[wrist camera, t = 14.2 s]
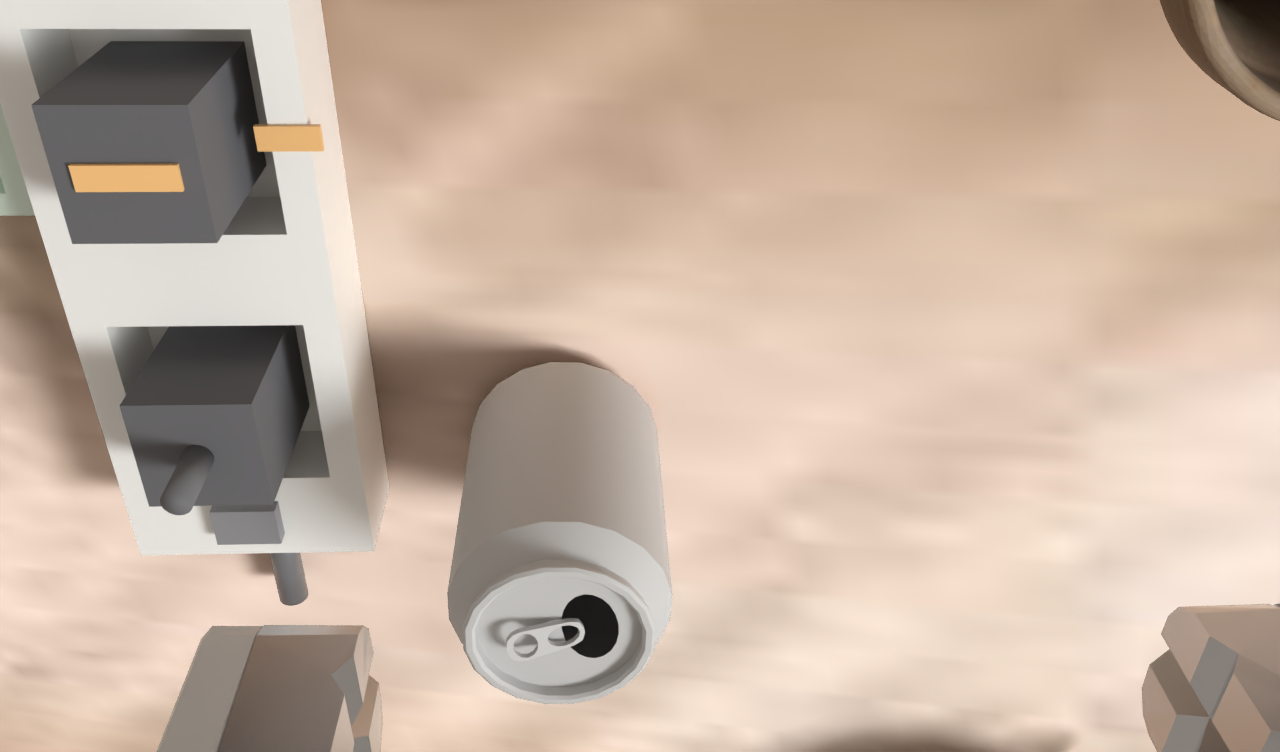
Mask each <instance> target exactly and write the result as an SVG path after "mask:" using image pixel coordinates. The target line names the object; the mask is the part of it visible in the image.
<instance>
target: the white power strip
mask: <svg viewBox="0 0 1280 752" xmlns="http://www.w3.org/2000/svg"><path fill="white" fill-rule="evenodd" d="M110 41H244V43H245V48H246V54H247V59H248V65H249V70H250V76H251V81H252V87H253V93H254V98H255V104H256V109H257V115H258V120H259V124H255V125H254V126H253V129H254V134H255V140H256V145H257V150H258V152H264V153H265V159H266V164H267V165H266V167H265V168H264V170H263V172H262V173H261V175H260V176H259V178H258V180H257V181H256V183H255V184H254V186H253V187H252V189H251V191H250V192H249V194H248V195H247V197H246V199H245V200H244V202H243V203H242V205H241V206H240V208H239V210H238V211H237V213H236V214H235V216H234V218H233V219H232V221H231V222H230V224H229V226H228V227H227V229H226V230H225V232H224V233H223V235H222V237H221V238H220V240H219V241H218V243H163V244H72V241H71V238H70V235H69V231H68V228H67V225H66V221H65V218H64V214H63V211H62V208H61V204H60V201H59V197H58V194H57V191H56V187H55V184H54V180H53V177H52V174H51V170H50V167H49V164H48V160H47V157H46V153H45V150H44V147H43V143H42V140H41V136H40V133H39V130H38V126H37V123H36V120H35V116H34V113H33V109H32V106H31V105H32V104H33V103H34V102H36V101H37V100H38V99H39V98H41V97H42V96H43V95H44V94H46V93H47V92H48V91H49V90H51V89H52V88H53V87H54V86H56V85H57V84H58V83H59V82H60V81H62V80H63V79H64V78H65V77H67V76H68V75H69V74H70V73H72V72H73V71H74V70H75V69H77V68H78V67H79V66H80V65H82V64H83V63H84V62H85V61H87V60H88V59H89V58H90V57H92V56H93V55H94V54H95V53H97V52H98V51H99V50H100V49H102V48H103V47H104V46H105V45H106V44H108V43H109V42H110ZM0 104H1V108H2V111H3V114H4V117H5V120H6V124H7V127H8V130H9V133H10V137H11V140H12V143H13V146H14V149H15V153H16V156H17V159H18V162H19V165H20V169H21V172H22V175H23V178H24V182H25V185H26V188H27V191H28V194H29V198H30V201H31V204H32V207H33V210H34V214H35V217H36V220H37V223H38V226H39V230H40V233H41V236H42V239H43V243H44V246H45V249H46V252H47V255H48V259H49V262H50V265H51V268H52V271H53V275H54V278H55V281H56V284H57V288H58V291H59V294H60V297H61V300H62V304H63V307H64V310H65V313H66V316H67V320H68V323H69V326H70V329H71V332H72V336H73V339H74V342H75V345H76V349H77V352H78V355H79V358H80V361H81V365H82V368H83V371H84V374H85V377H86V381H87V384H88V387H89V390H90V394H91V397H92V400H93V403H94V406H95V410H96V413H97V416H98V419H99V422H100V426H101V429H102V432H103V435H104V438H105V442H106V445H107V448H108V451H109V455H110V458H111V461H112V464H113V467H114V471H115V474H116V477H117V480H118V483H119V487H120V490H121V493H122V496H123V500H124V503H125V506H126V509H127V512H128V516H129V519H130V522H131V525H132V528H133V532H134V535H135V538H136V541H137V545H138V548H139V551H140V554H141V555H191V554H248V553H270V558H271V562H272V566H273V571H274V575H275V580H276V584H277V589H278V593H279V597H280V601H281V602H282V603H283V604H285V605H290V606H291V605H297V604H300V603H302V602H303V601H304V600H305V599H306V598H307V597H308V589H307V584H306V579H305V575H304V570H303V565H302V560H301V555H300V553H305V552H362V551H374V550H375V546H376V541H377V537H378V533H379V529H380V525H381V520H382V516H383V512H384V508H385V504H386V499H387V495H388V491H389V481H388V474H387V467H386V460H385V453H384V445H383V438H382V431H381V424H380V417H379V410H378V403H377V396H376V389H375V382H374V375H373V367H372V360H371V353H370V346H369V339H368V332H367V325H366V318H365V311H364V304H363V297H362V289H361V282H360V275H359V268H358V261H357V254H356V247H355V240H354V233H353V226H352V218H351V211H350V204H349V197H348V190H347V183H346V176H345V169H344V162H343V155H342V148H341V140H340V133H339V126H338V119H337V112H336V105H335V98H334V91H333V84H332V77H331V70H330V62H329V55H328V48H327V41H326V34H325V27H324V20H323V13H322V6H321V0H0ZM260 325H295V328H296V333H297V339H298V344H299V350H300V355H301V361H302V366H303V372H304V377H305V383H306V388H307V394H308V399H309V405H310V406H309V409H308V412H307V415H306V417H305V420H304V423H303V425H302V428H301V431H300V433H299V436H298V439H297V442H296V444H295V447H294V450H293V452H292V455H291V458H290V460H289V463H288V466H287V469H286V471H285V474H284V477H283V479H282V482H281V485H280V488H279V490H278V493H277V496H276V498H275V501H274V504H273V505H223V506H193V508H192V510H191V511H190V512H189V513H187V514H185V515H173V514H171V513H169V512H167V511H165V510H164V509H163V508H162V506H159V507H149V504H148V501H147V498H146V494H145V491H144V487H143V484H142V481H141V477H140V474H139V471H138V467H137V464H136V460H135V457H134V454H133V450H132V447H131V444H130V440H129V437H128V433H127V430H126V427H125V423H124V420H123V417H122V413H121V410H120V404H121V402H122V401H123V399H124V398H125V396H126V394H127V393H128V391H129V390H130V388H131V386H132V385H133V383H134V382H135V380H136V378H137V377H138V375H139V374H140V372H141V370H142V369H143V367H144V366H145V364H146V362H147V361H148V359H149V358H150V356H151V354H152V353H153V351H154V350H155V348H156V346H157V345H158V343H159V342H160V340H161V338H162V337H163V335H164V334H165V332H166V330H167V329H168V327H169V326H260Z"/></svg>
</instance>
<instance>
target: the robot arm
mask: <svg viewBox="0 0 1280 752" xmlns="http://www.w3.org/2000/svg"><path fill="white" fill-rule="evenodd" d="M1161 635H1162V636H1163V638H1164V640H1165V642H1166V643H1167V645H1168V647H1169V650H1168V651H1167V652H1165V653H1164V654H1163V655H1162V656H1160V657H1159V658H1158V659H1156V660H1155V661H1154V662H1153V663H1151V664H1150V665H1149V668H1148V671H1147V674H1146V677H1145V680H1144V683H1143V687H1142V702H1143V716H1144V720H1145V723H1146V727H1147V730H1148V733H1149V736H1150V738H1151V740H1152V742H1153V744H1154V746H1155V748H1156V750H1157V752H1280V604H1275V605H1270V604H1253V605H1222V606H1191V607H1178V608H1177V609H1176V610H1175V611H1173V612H1172V613H1171V614H1170V615H1169V616H1168V618H1167V621H1166V623H1165V626H1164V628H1163V631H1162V633H1161ZM372 657H373V647H372V642H371V638H370V633H369V628H367V627H365V626H328V625H264V626H212V627H211V628H210V630H209V631H208V632H207V633H206V634H205V635H204V636H203V638H202V639H201V641H200V643H199V646H198V648H197V651H196V653H195V656H194V659H193V661H192V664H191V666H190V669H189V671H188V674H187V676H186V679H185V681H184V684H183V686H182V689H181V691H180V694H179V696H178V699H177V701H176V704H175V706H174V709H173V711H172V714H171V716H170V719H169V722H168V724H167V727H166V729H165V732H164V734H163V737H162V739H161V742H160V744H159V747H158V749H157V752H381V740H382V725H383V720H382V701H381V694H380V688H379V683H378V682H377V681H375V680H374V679H373V678H372V677H371V676H369V672H370V667H371V662H372Z"/></svg>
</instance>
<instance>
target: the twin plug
mask: <svg viewBox="0 0 1280 752" xmlns="http://www.w3.org/2000/svg"><path fill="white" fill-rule="evenodd" d="M309 406H310V405H309V399H308V394H307V388H306V383H305V377H304V372H303V366H302V361H301V355H300V350H299V344H298V339H297V333H296V328H295V325H260V326H169V327H168V329H167V330H166V332H165V334H164V335H163V337H162V338H161V340H160V342H159V343H158V345H157V346H156V348H155V350H154V351H153V353H152V354H151V356H150V358H149V359H148V361H147V362H146V364H145V366H144V367H143V369H142V370H141V372H140V374H139V375H138V377H137V378H136V380H135V382H134V383H133V385H132V386H131V388H130V390H129V391H128V393H127V394H126V396H125V398H124V399H123V401H122V402H121V404H120V410H121V413H122V417H123V420H124V423H125V427H126V430H127V433H128V437H129V440H130V444H131V447H132V450H133V454H134V457H135V460H136V464H137V467H138V471H139V474H140V477H141V481H142V484H143V487H144V491H145V494H146V498H147V501H148V504H149V507H159V506H162V508H163V509H164V510H165V511H167V512H169V513H171V514H173V515H185V514H187V513H189V512H190V511H191V510H192V508H193V506H223V505H273V504H274V501H275V498H276V496H277V493H278V490H279V488H280V485H281V482H282V479H283V477H284V474H285V471H286V469H287V466H288V463H289V460H290V458H291V455H292V452H293V450H294V447H295V444H296V442H297V439H298V436H299V433H300V431H301V428H302V425H303V423H304V420H305V417H306V415H307V412H308V409H309Z"/></svg>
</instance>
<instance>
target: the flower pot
mask: <svg viewBox="0 0 1280 752" xmlns="http://www.w3.org/2000/svg"><path fill="white" fill-rule="evenodd" d="M1160 2H1161V6H1162V9H1163V11H1164V14H1165V17H1166V19H1167V21H1168V23H1169V25H1170V28H1171V30H1172V32H1173V33H1174V35H1175V37H1176V39H1177V41H1178V42H1179V44H1180V45H1181V47H1182V48H1183V49H1184V50H1185V52H1186V53H1187V54H1188V55H1189V57H1190V58H1191V59H1192V60H1193V61H1194V62H1195V63H1196V64H1197V65H1198V66H1199V67H1200V68H1201V69H1202V70H1203V71H1204V72H1205V73H1206V74H1207V75H1208V76H1210V77H1211V78H1212V79H1213V80H1214V81H1215V82H1217V83H1218V84H1220V85H1221V86H1222V87H1224V88H1225V89H1227V90H1228V91H1229V92H1231V93H1232V94H1233V95H1235V96H1236V97H1237V98H1239V99H1240V100H1241V101H1243V102H1244V103H1245V104H1247V105H1249V106H1250V107H1252V108H1254V109H1255V110H1257V111H1259V112H1260V113H1263V114H1265V115H1267V116H1269V117H1271V118H1273V119H1276V120H1278V121H1280V0H1160Z"/></svg>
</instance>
